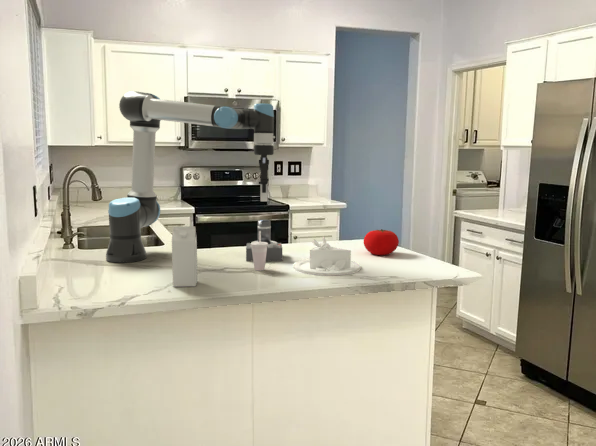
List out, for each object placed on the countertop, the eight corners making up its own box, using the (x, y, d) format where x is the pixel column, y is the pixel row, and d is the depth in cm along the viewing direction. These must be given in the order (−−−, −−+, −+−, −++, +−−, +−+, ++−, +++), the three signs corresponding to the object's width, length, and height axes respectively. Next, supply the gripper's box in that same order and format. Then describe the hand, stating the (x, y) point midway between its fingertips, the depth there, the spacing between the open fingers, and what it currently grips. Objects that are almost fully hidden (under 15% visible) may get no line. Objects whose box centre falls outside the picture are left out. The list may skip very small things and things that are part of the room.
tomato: (359, 255, 227) (360, 230, 226) (367, 249, 239) (368, 225, 238) (394, 258, 222) (395, 232, 221) (400, 252, 234) (401, 228, 232)
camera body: (246, 261, 215) (246, 245, 215) (246, 255, 226) (246, 240, 225) (282, 260, 216) (282, 245, 216) (281, 255, 227) (281, 240, 226)
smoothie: (270, 268, 204) (270, 230, 202) (264, 272, 198) (264, 233, 196) (254, 266, 206) (254, 229, 204) (247, 270, 200) (247, 232, 198)
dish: (282, 272, 199) (282, 241, 197) (307, 258, 222) (307, 231, 220) (349, 279, 190) (349, 246, 188) (367, 264, 213) (368, 235, 211)
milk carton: (175, 281, 184) (174, 224, 182) (197, 281, 185) (196, 224, 182) (172, 287, 177) (171, 228, 175) (195, 286, 178) (194, 228, 175)
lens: (257, 246, 218) (257, 221, 216) (257, 244, 223) (257, 219, 222) (270, 246, 218) (270, 221, 217) (270, 244, 223) (270, 219, 222)
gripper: (274, 145, 203) (274, 203, 206) (272, 144, 227) (272, 196, 230) (253, 144, 202) (253, 203, 205) (254, 144, 227) (254, 196, 230)
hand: (263, 199), depth 218 cm, fingers open, 13 cm apart
